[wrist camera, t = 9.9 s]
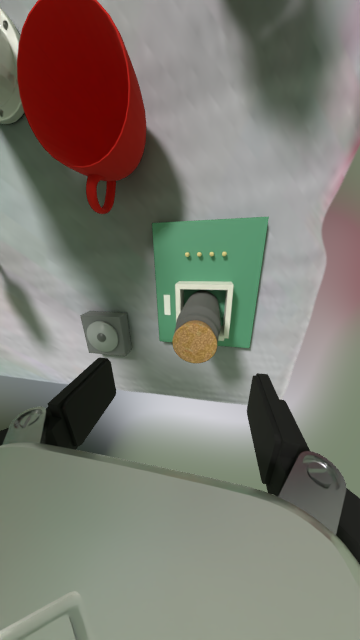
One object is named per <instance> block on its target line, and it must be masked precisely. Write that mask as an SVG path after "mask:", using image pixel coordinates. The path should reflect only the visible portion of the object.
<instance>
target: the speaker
mask: <svg viewBox="0 0 360 640" xmlns="http://www.w3.org/2000/svg"><path fill="white" fill-rule="evenodd" d="M80 316H81V320H82V325H83V329H84V333H85V337H86V342H87V346H88V350H89V353H98V354H108V355H118V356H126V355H127V354H128V353H129V352H130V351H131V349H132V348H131V340H130V332H129V325H128V317H127V313H121V312H99V311H89V312H87V313H84V314H82V315H80Z"/></svg>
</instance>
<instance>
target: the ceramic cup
mask: <svg viewBox="0 0 360 640" xmlns="http://www.w3.org/2000/svg"><path fill="white" fill-rule="evenodd" d="M17 80H18V87H19V94H20V98H21V102H22V106H23V110H24V112H25V115H26V118H27V120H28V123H29V125H30V127H31V129H32V131H33V133H34V134H35V136H36V138H37V139H38V141H39V142H40V143H41V145H42V146H43V148H44V149H45V150H46V151H47V152H48V153H49V154H50V155H51V156H52V157H53V158H55V159H56V160H58V161H59V162H61V163H62V164H64V165H65V166H67V167H69V168H71V169H73V170H75V171H77V172H79V173H81V174H83V175H86V176H88V179H87V184H86V194H87V199H88V202H89V205H90V206H91V208H92V209H93V210H94V211H95V212H97V213H100V214H106V213H108V212H109V211H110V210H111V208H112V206H113V203H114V198H115V188H116V181H117V180H120V179H123V178H125V177H127V176H128V175H130V174H131V173H132V172H133V171H134V170H135V169H136V167H137V166H138V164H139V162H140V160H141V158H142V155H143V152H144V147H145V142H146V118H145V109H144V104H143V100H142V96H141V91H140V87H139V84H138V81H137V78H136V74H135V72H134V69H133V66H132V63H131V60H130V58H129V55H128V53H127V50H126V47H125V45H124V42H123V40H122V37H121V35H120V33H119V31H118V29H117V27H116V26H115V24H114V22H113V20H112V19H111V17H110V15H109V14H108V13H107V12H106V10H105V9H104V8H103V7H102V6H101V5H100V3H99V2H98V1H97V0H38V1H37V2H36V4H35V5H34V7H33V8H32V10H31V11H30V12H29V14H28V16H27V19H26V21H25V23H24V26H23V28H22V32H21V36H20V40H19V45H18V55H17ZM100 180H102V181H107V189H106V197H105V202H104V205H103V207H102V208H101V206H100V205H99V202H98V199H97V184H98V182H99V181H100Z"/></svg>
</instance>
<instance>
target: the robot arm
mask: <svg viewBox="0 0 360 640" xmlns="http://www.w3.org/2000/svg"><path fill="white" fill-rule="evenodd" d="M19 40H20V34H19V33H18V31H17V29H16V27H15V25H14V24H13V23H12V21H11V20H10V18H9V17H8V16H7V15H6V14H5V12H4V11H3V10H2V9H1V8H0V123H1V124H11V123H13V122H15V121H17V120H18V119H19V118H20V117H21V116H22V115H23V113H24V110H23V106H22V102H21V98H20V94H19V87H18V80H17V55H18V45H19ZM115 395H116V388H115V383H114V377H113V372H112V367H111V362H110V361H109V360H108V359H107V358H98V359H97V360H95V361H94V362H93V363H92V364H91V365H90V366H89V367H88V368H87V369H86V370H84V371H83V372H82V373H81V374H80V375H79V376H78V377H77V378H76V379H74V380H73V381H72V382H71V383H70V384H69V385H68V386H67V387H66V388H64V389H63V390H62V391H61V392H60V393H59V394H58V395H57V396H56V397H54V398H53V399H52V400H51V401H50V402H49V403H48V406H49V407H48V408H46V409H45V408H44V407H34V408H31V409H29V410H26V411H24V412H22V413H21V414H20V415H18V416H17V417H16V418H15V419H14V420H13V421H12V423H11V424H10V427H9V428H7V429H4V430H2V431H0V640H360V499H359V498H358V497H357V496H356V495H355V494H353V493H352V492H351V491H349V490H348V489H347V488H346V483H345V480H344V477H343V476H342V474H341V473H340V471H339V470H338V469H337V468H336V466H335V465H333V463H332V462H330V461H329V460H328V459H327V458H325V457H323V456H322V455H320V454H318V453H315V452H311V451H310V450H309V448H308V446H307V444H306V442H305V440H304V438H303V436H302V434H301V432H300V430H299V428H298V426H297V424H296V422H295V419H294V417H293V415H292V413H291V412H290V409H289V407H288V405H287V403H286V402H285V401H284V400H279V398H278V396H277V394H276V391H275V389H274V387H273V385H272V383H271V380H270V378H269V376H268V375H267V374H258V373H257V374H256V376H253V379H252V384H251V390H250V396H249V402H248V407H247V415H248V420H249V424H250V430H251V434H252V439H253V443H254V448H255V452H256V457H257V462H258V466H259V471H260V476H261V480H262V483H263V484H266V486H267V490H268V493H267V492H264V491H260V490H257V489H253V488H250V487H247V486H243V485H238V484H234V483H230V482H226V481H221V480H217V479H213V478H208V477H204V476H199V475H194V474H190V473H185V472H180V471H175V470H171V469H166V468H162V467H157V466H152V465H147V464H143V463H138V462H133V461H128V460H123V459H119V458H113V457H109V456H104V455H99V454H94V453H89V452H84V451H79V450H76V449H77V447H78V446H80V445H81V444H82V443H83V442H84V440H85V439H86V437H87V436H88V435H89V433H90V432H91V430H92V429H93V427H94V426H95V424H96V423H97V421H98V420H99V419H100V417H101V416H102V414H103V413H104V411H105V410H106V408H107V407H108V406H109V404H110V403H111V401H112V400H113V398H114V397H115ZM272 494H274V495H272Z"/></svg>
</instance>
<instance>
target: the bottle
mask: <svg viewBox="0 0 360 640" xmlns="http://www.w3.org/2000/svg"><path fill="white" fill-rule="evenodd" d="M220 330H221V321H220V312H219V304H218V300H217V298H216V297H215V296H214V295H213V294H212V293H211V292H209V291H205V290H200V291H197V292H195V293H193V294H192V295H191V296H190V297H189V299H188V300H187V302H186V304H185V305H184V307H183V309H182V310H181V312H180V314H179V316H178V318H177V321H176V328H175V332H174V336H173V341H172V343H173V348H174V350H175V352H176V354H177V355H178V356H179V357H180V358H181V359H183V360H185V361H187V362H190V363H202V362H205V361H207V360H209V359H210V358H212V357H213V355H214V354H215V352H216V350H217V343H218V339H219V334H220Z"/></svg>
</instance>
